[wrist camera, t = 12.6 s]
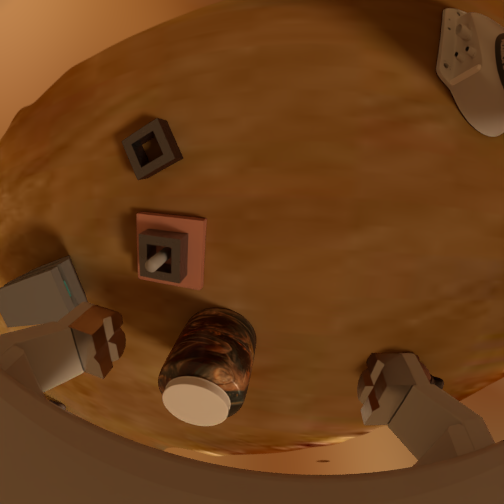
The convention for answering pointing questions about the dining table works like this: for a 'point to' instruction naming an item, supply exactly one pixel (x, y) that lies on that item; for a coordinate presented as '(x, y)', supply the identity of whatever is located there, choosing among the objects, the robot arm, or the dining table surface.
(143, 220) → the keeper
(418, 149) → the dining table surface
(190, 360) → the jar
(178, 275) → the link
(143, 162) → the loose link
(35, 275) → the grey lidded box
